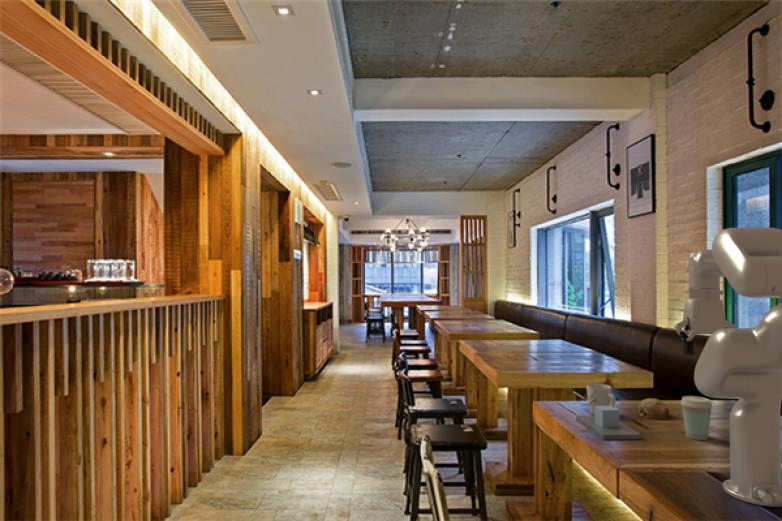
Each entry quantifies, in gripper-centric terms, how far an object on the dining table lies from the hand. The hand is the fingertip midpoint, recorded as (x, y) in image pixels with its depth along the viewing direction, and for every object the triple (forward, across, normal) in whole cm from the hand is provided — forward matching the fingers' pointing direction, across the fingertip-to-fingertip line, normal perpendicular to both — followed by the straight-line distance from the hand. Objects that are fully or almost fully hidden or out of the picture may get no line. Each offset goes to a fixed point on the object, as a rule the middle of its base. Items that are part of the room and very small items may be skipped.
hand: (705, 354), depth 141 cm
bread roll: (+29, -7, -39) cm, 49 cm away
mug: (+28, +11, -40) cm, 51 cm away
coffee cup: (+28, -7, -15) cm, 33 cm away
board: (+28, +18, -24) cm, 41 cm away
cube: (+27, +18, -24) cm, 40 cm away
